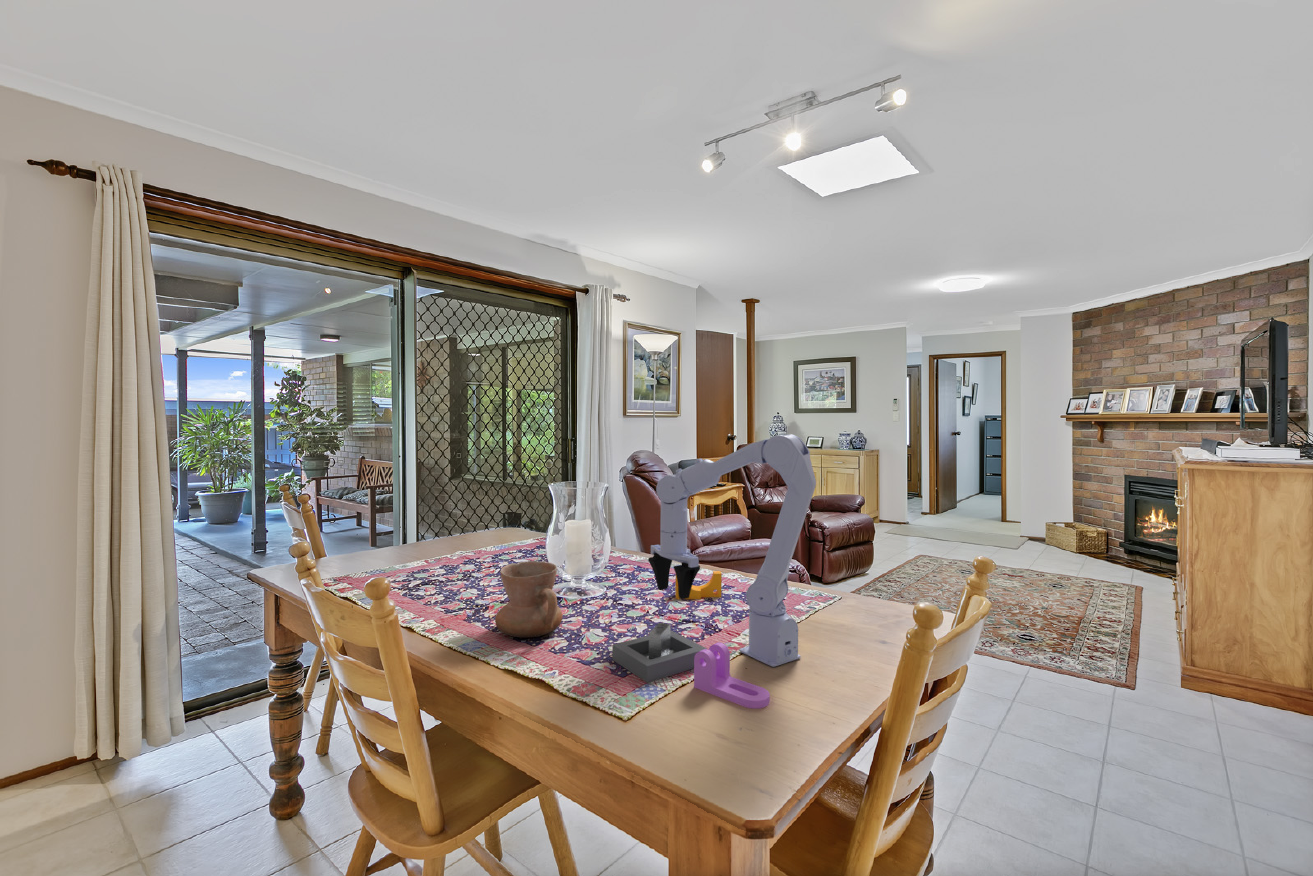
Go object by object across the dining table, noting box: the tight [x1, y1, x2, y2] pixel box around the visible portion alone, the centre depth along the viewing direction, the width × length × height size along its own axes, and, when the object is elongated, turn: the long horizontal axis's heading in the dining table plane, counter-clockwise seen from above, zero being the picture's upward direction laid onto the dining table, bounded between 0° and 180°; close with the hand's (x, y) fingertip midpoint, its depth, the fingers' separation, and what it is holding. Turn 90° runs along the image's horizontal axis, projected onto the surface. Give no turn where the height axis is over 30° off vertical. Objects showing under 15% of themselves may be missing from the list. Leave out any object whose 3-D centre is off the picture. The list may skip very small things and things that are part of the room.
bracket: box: [693, 641, 771, 709], centre depth 102 cm, size 13×6×7 cm, turn 49°
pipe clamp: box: [674, 570, 723, 600], centre depth 156 cm, size 12×4×6 cm, turn 91°
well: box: [611, 630, 708, 683], centre depth 114 cm, size 12×14×3 cm
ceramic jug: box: [494, 560, 564, 638], centre depth 130 cm, size 18×14×14 cm
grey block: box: [647, 622, 674, 660], centre depth 114 cm, size 4×6×6 cm, turn 161°
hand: (673, 593), depth 127 cm, fingers open, 7 cm apart
